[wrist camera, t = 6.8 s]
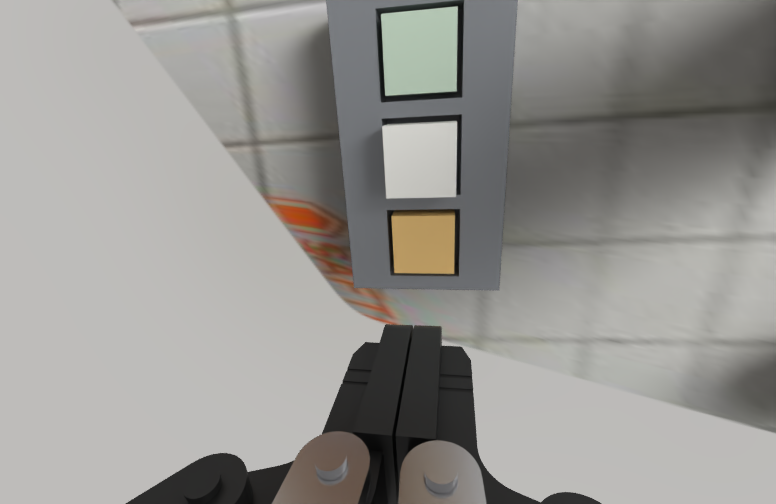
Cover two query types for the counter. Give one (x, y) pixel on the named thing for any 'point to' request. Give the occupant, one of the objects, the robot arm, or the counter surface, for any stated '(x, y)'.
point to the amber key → (423, 241)
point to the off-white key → (420, 159)
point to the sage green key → (420, 51)
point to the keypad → (373, 110)
